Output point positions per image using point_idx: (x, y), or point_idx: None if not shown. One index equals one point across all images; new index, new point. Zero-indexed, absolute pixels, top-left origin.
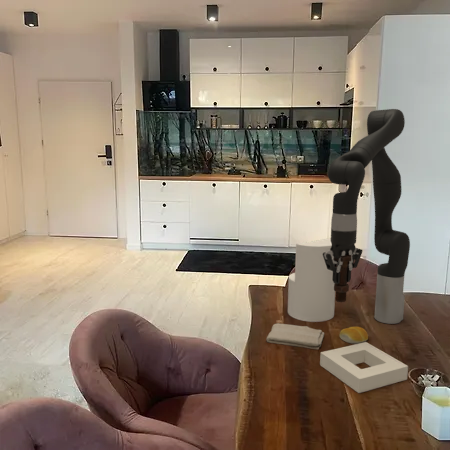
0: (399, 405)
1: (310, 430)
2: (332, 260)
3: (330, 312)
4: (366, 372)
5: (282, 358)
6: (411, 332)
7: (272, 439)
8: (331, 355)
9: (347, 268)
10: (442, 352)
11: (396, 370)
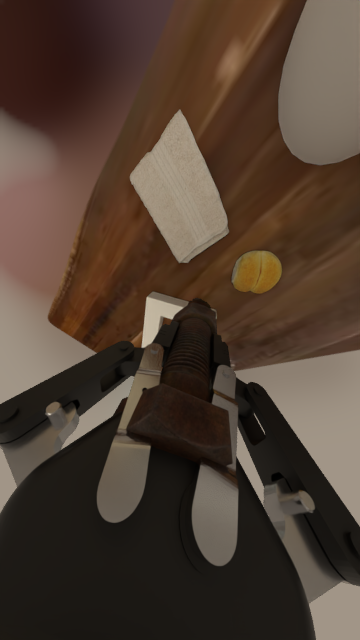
0: None
1: (90, 339)
2: (134, 378)
3: (348, 153)
4: None
5: (125, 248)
6: (338, 318)
7: (66, 329)
8: (152, 309)
9: (209, 382)
10: (283, 360)
11: None
